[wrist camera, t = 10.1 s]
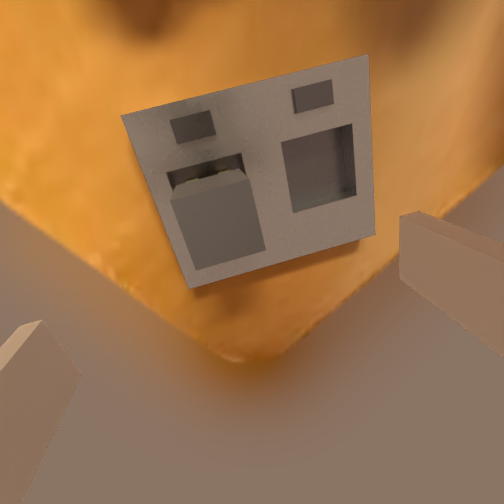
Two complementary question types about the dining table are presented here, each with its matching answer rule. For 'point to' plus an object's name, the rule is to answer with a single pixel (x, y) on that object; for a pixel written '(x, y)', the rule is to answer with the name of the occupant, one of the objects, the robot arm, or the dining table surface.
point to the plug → (218, 218)
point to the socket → (270, 159)
